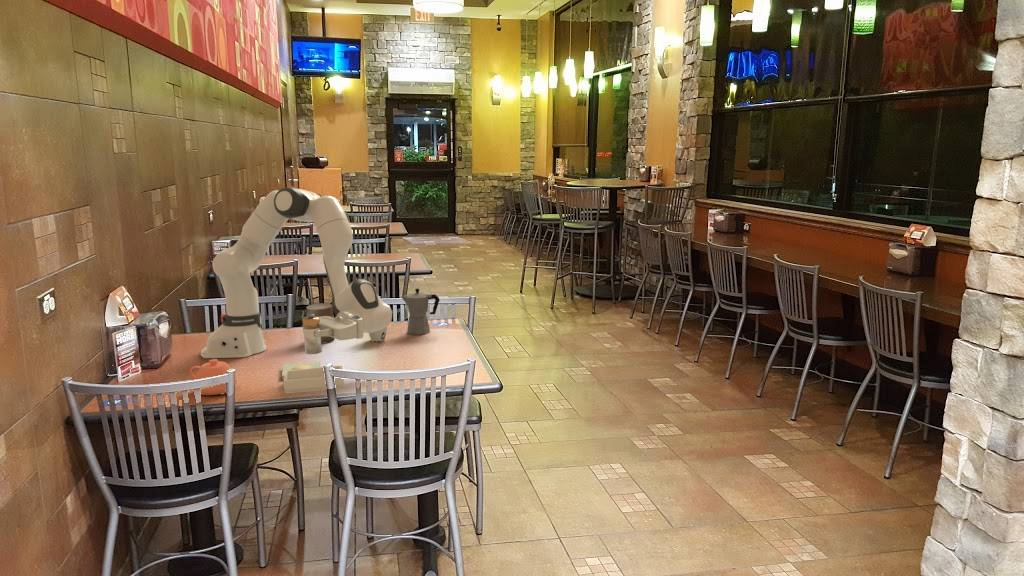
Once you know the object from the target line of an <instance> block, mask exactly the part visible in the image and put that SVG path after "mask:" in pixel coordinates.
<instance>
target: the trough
mask: <svg viewBox="0 0 1024 576" xmlns="http://www.w3.org/2000/svg"><path fill="white" fill-rule="evenodd" d="M323 367H324V366H322V367H321V366H320V368H309V369H297V370H286V371H285V375H284V380H283V385H284V394H295V393H297V394H298V393H306V392H313V391H314V392H316V391H325V390H326V384H325V377H324V371H323ZM333 368H335V369H342V370H343V365H334V366H333ZM344 380H345V379H341V378H335V385H336V388H337V389H345V381H344ZM337 389H336V390H337ZM326 391H327V390H326Z"/></svg>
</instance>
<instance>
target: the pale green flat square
mask: <svg viewBox="0 0 1024 576" xmlns="http://www.w3.org/2000/svg"><path fill="white" fill-rule="evenodd" d="M320 367H321V361H312V362H301V363H300V362H299V363H288V364H286V363H285V364H283V365H282V372H281V380H282V381H284V375H285V371H286V370H297V369H309V368H320Z"/></svg>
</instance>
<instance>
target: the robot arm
mask: <svg viewBox="0 0 1024 576" xmlns="http://www.w3.org/2000/svg"><path fill="white" fill-rule="evenodd" d="M290 219H291V220H293V221H297V222H306V223H310V224H314V226H315V229H316V231H317V234H318V238H319V240H320V246H321V251H322V257H323V258H322V259H323V264H324V270H325V273H326V277H327V281H328V283H329V288H330V293H331V305H332V310H333V314H334V315H335V317H334V316H333V317H330V316H322V317H320V330H317V331H314V336H315V337H321V336H329V337H332V338H335V339H336V340H337V341H348V340H353V339H358V340H359V339H360V340H361V339H364V334H365V333H366V334H369V333H371V332H375V331H378V330H381V329H384V328H385V327H387V328H388V326H389V325H390V324H391V321H392V320H393V312H392V308H391V306H390V305H389V304H387V303H385V302H384V301H383V299H381V297H380V296H379V294H378V293H377V290H376V288H375V286H374V284H373V283H371V282H370V281H369V280H367V279H364V278H357V279H354V281H352V282H351V283H350V284H349V281H348V278H347V277H348V276H347V274H346V270H345V262H346V257H347V255H348V253H349V251H350V249H351V247H352V244H353V241H354V237H353V235H354V234H353V230H352V226H351V224H350V222H349V219H348V217H347V214H346V213H345V211H344V208H343V206H342V204H341V203H340V201H339V200H338V199H337V198H336V197H334V196H331V195H321V194H320V193H315V192H314V191H310V190H308V189H302V188H296V187H293V186H292V187H291V186H287V187H283V188H280V189H277V190H272V191H270V192H269V193H268V194H267V195H266V196H265V197H264V198H263V199H262V200H261V201H260V203H259V204H258V205H257V206H256V208H255V209H254V210H253V212H252V213H251V215H249V218H248V219H247V220H246V221H245V223H244V224H243V226H242V230H241V233H240V236H239V237H238V239H237V242H236V243H235V244H233V245H232V246H230V247H226V248H225V249H222V250H221V251H220V252H218V253H217V254H216V255H215V256H214V258H213V259H212V263H211V264H212V271H213V272H214V273H215V275H216V276H217V277H218V278H219V280H220V284H221V285H222V286H221V287H222V288H223V293H224V298H225V300H224V301H225V309H226V310H225V311H226V313H225V312H223V313H222V314H221V315H220V320H221V322H220V323H221V325H219V326H218V327H217V328H216V329H215V330H214V331H212V332H211V333H210V334H209V336H208V338H207V340H206V347H204V348H202V349H201V351H200V357H201V356H202V357H203V358H202V357H201V358H202V359H225V358H226V359H227V358H228V359H229V358H230V359H231V358H234V359H235V358H247V357H250V356H251V355H255V354H259V353H262V352H264V351H266V350H267V348H268V347H267V344H266V342H265V340H264V336H263V332H262V331H263V330H262V324H263V323H262V315H261V311H260V308H259V294H258V290H257V288H255V286H254V284H253V281H252V278H251V273H253V272H255V271H256V270H257V269H258V268H259V267H260V266H261V265H262V263H263V261H264V257H265V256H266V254H267V252H268V250H269V248H270V246H271V244H272V243H273V242H274V240H275V239H276V237H277V236H278V235H279V233H280V231H282V229H283V227H284V226H285V224H286V223H287V221H289V220H290ZM302 333H303V334H304V331H303V330H302Z"/></svg>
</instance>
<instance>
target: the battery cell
mask: <svg viewBox="0 0 1024 576" xmlns="http://www.w3.org/2000/svg"><path fill="white" fill-rule="evenodd" d="M317 330H320V317H319V316H314V314H308V316H307V315H306V316H304V317H302V332H303V331H304V333H303V340H304V354H306V355H317V354H320V353H322V351H323V350H322V343H321V337H315V336H314V331H317Z"/></svg>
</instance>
